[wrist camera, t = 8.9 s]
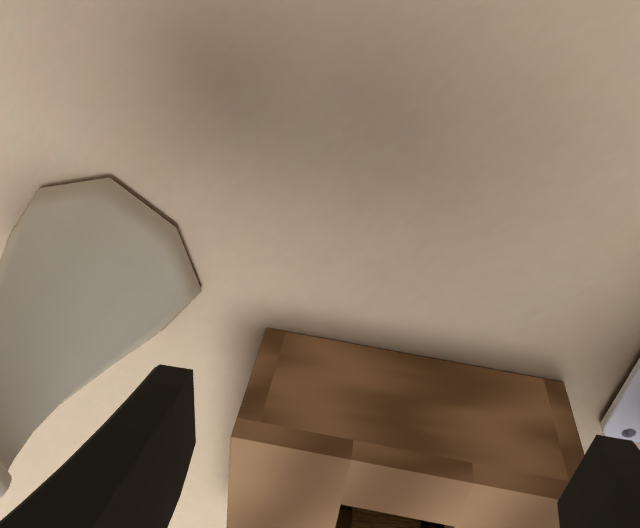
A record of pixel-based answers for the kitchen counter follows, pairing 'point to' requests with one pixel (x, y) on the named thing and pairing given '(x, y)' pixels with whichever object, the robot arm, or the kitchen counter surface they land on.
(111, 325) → the flask
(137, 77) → the kitchen counter surface
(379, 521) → the wooden block
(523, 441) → the coin box
